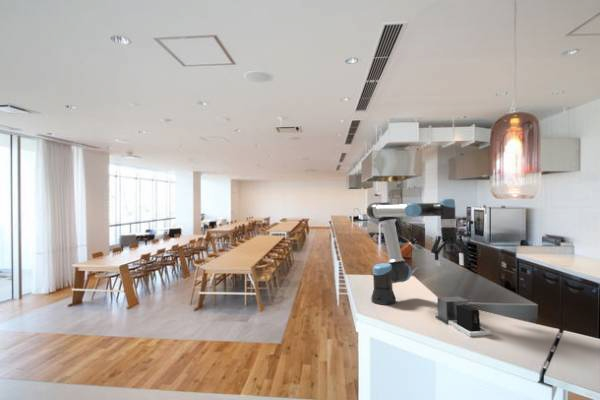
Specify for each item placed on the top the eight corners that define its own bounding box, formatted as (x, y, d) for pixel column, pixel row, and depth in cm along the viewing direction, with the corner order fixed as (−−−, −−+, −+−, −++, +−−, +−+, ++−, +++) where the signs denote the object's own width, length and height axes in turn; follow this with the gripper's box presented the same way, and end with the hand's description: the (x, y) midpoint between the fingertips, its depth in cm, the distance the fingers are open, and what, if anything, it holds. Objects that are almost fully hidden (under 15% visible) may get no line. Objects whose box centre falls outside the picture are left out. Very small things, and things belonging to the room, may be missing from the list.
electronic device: (472, 332, 141) (471, 310, 141) (456, 325, 150) (456, 304, 151) (480, 331, 142) (479, 309, 142) (464, 324, 151) (463, 303, 152)
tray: (448, 324, 153) (448, 320, 153) (466, 322, 154) (466, 319, 154) (469, 336, 137) (469, 332, 137) (490, 335, 139) (490, 331, 139)
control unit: (435, 317, 163) (434, 297, 163) (459, 316, 165) (458, 295, 165) (446, 324, 153) (445, 302, 154) (472, 322, 155) (471, 300, 155)
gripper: (430, 227, 163) (432, 267, 162) (474, 226, 166) (475, 265, 165) (423, 227, 171) (425, 265, 170) (464, 225, 174) (466, 263, 173)
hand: (450, 265), depth 168 cm, fingers open, 13 cm apart
